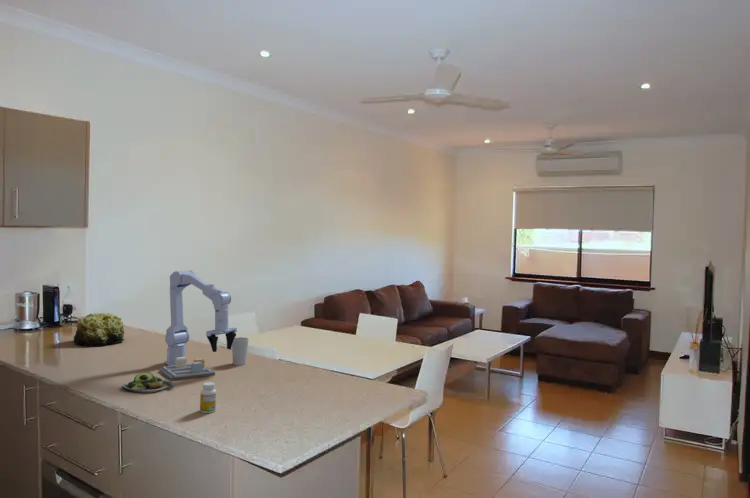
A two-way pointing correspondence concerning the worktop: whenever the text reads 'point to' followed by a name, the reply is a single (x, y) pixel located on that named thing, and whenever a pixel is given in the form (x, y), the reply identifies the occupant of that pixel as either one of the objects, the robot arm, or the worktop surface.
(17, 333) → the worktop surface
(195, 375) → the panel
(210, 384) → the supplement bottle
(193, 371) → the slider blue
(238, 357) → the cup
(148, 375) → the salad plate
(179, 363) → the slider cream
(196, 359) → the slider orange
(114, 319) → the mossy green rock
